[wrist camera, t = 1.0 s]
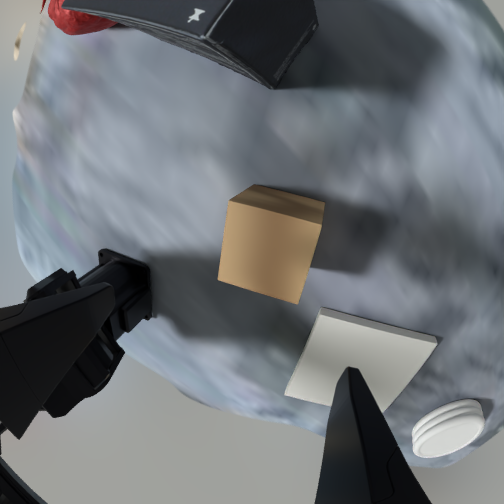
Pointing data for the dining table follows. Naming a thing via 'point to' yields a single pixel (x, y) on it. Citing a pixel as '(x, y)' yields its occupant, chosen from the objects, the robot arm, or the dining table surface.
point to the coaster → (448, 428)
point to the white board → (357, 357)
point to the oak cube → (270, 241)
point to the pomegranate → (76, 20)
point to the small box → (220, 29)
